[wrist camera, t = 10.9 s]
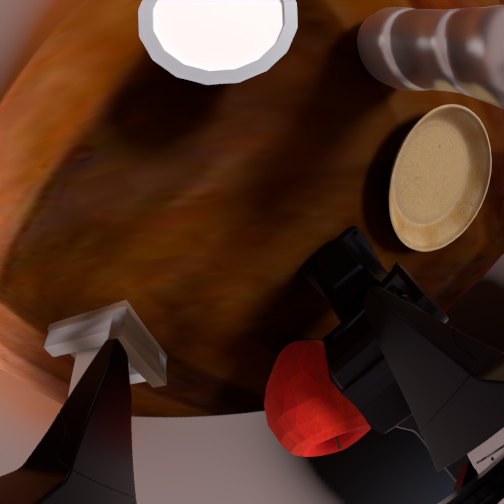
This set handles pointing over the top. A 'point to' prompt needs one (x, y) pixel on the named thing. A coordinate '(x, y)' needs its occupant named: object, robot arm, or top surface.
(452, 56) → the plastic bottle
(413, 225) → the plant saucer
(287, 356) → the apple
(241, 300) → the top surface
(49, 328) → the sill track
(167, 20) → the white cup
